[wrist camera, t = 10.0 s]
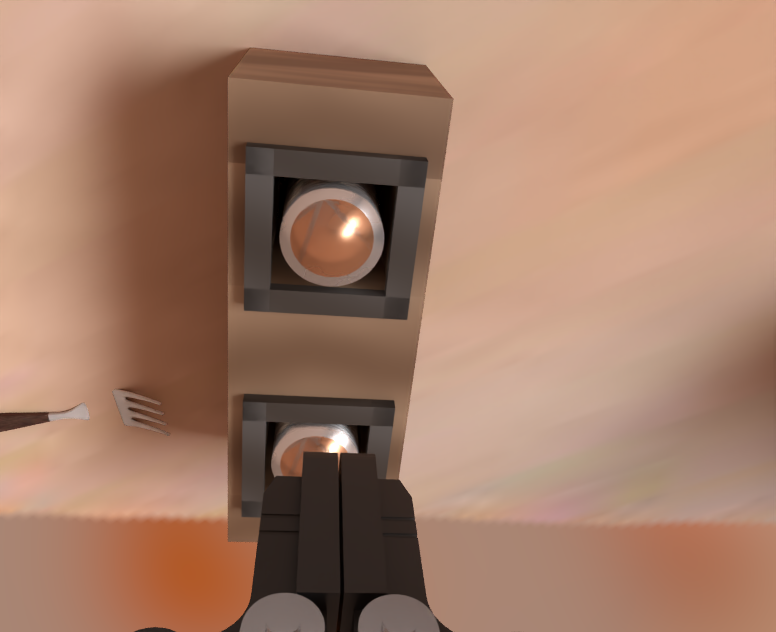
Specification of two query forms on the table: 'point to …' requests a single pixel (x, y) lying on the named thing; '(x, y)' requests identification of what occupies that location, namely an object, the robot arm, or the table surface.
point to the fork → (87, 414)
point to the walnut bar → (312, 301)
